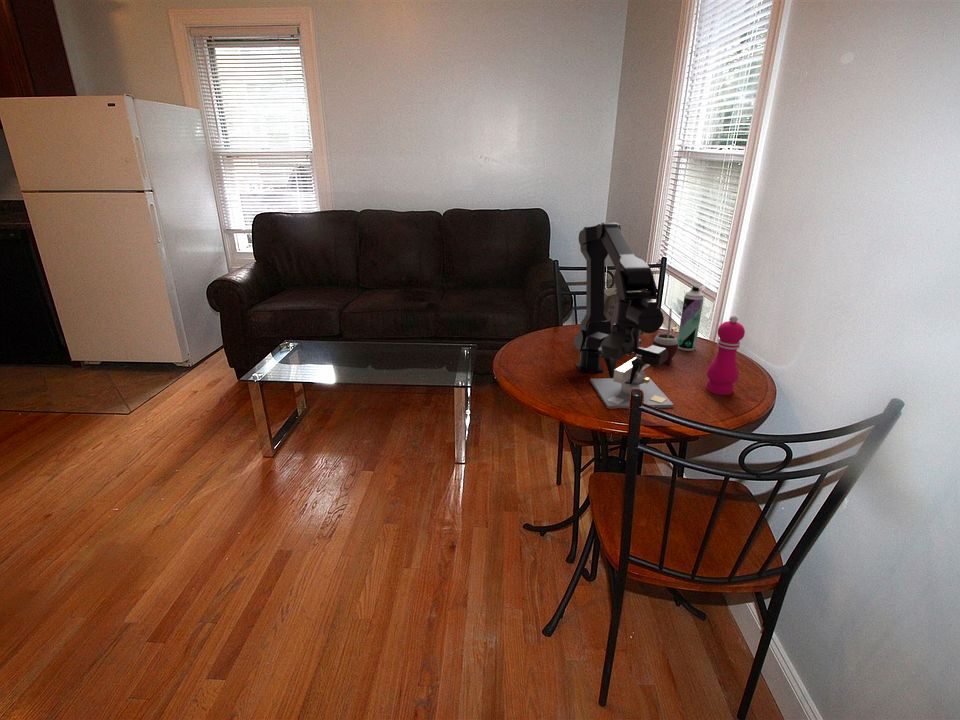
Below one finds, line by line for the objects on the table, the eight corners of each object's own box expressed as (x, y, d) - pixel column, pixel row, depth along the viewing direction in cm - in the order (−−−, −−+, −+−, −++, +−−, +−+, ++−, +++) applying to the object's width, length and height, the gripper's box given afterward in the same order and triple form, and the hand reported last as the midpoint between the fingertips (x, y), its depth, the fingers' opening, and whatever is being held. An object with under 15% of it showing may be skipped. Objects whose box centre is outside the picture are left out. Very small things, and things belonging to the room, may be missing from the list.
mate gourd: (660, 368, 139) (667, 318, 134) (643, 358, 146) (649, 310, 141) (681, 364, 141) (689, 315, 136) (664, 355, 148) (671, 308, 143)
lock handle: (632, 367, 129) (634, 350, 128) (660, 374, 124) (663, 358, 123) (604, 384, 119) (606, 367, 117) (634, 393, 114) (636, 376, 112)
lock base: (590, 381, 131) (591, 368, 129) (648, 380, 131) (650, 367, 130) (607, 409, 116) (609, 394, 114) (673, 407, 117) (675, 393, 115)
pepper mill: (725, 383, 129) (740, 311, 122) (740, 395, 122) (757, 320, 115) (699, 384, 129) (712, 311, 121) (712, 396, 122) (727, 320, 115)
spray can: (679, 343, 158) (688, 283, 151) (696, 347, 155) (707, 285, 148) (674, 348, 154) (684, 286, 146) (692, 352, 151) (703, 289, 143)
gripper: (575, 319, 112) (570, 380, 118) (652, 337, 101) (643, 404, 106) (599, 309, 120) (594, 367, 126) (673, 324, 108) (664, 387, 114)
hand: (621, 380), depth 118 cm, fingers open, 5 cm apart
